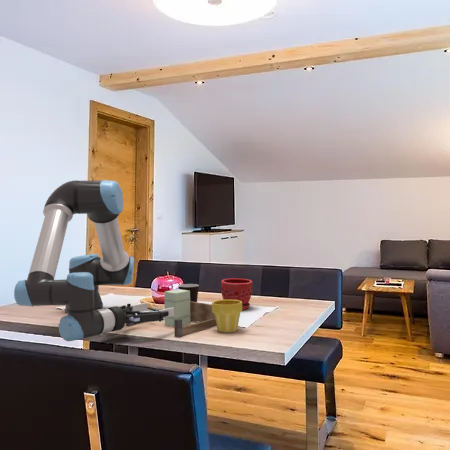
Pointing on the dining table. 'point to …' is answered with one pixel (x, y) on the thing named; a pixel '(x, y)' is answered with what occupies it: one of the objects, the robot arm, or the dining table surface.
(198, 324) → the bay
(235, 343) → the dining table surface
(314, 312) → the dining table surface
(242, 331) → the dining table surface
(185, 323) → the pale green box
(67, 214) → the robot arm
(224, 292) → the plant pot
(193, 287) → the coffee mug
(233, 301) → the plant pot
